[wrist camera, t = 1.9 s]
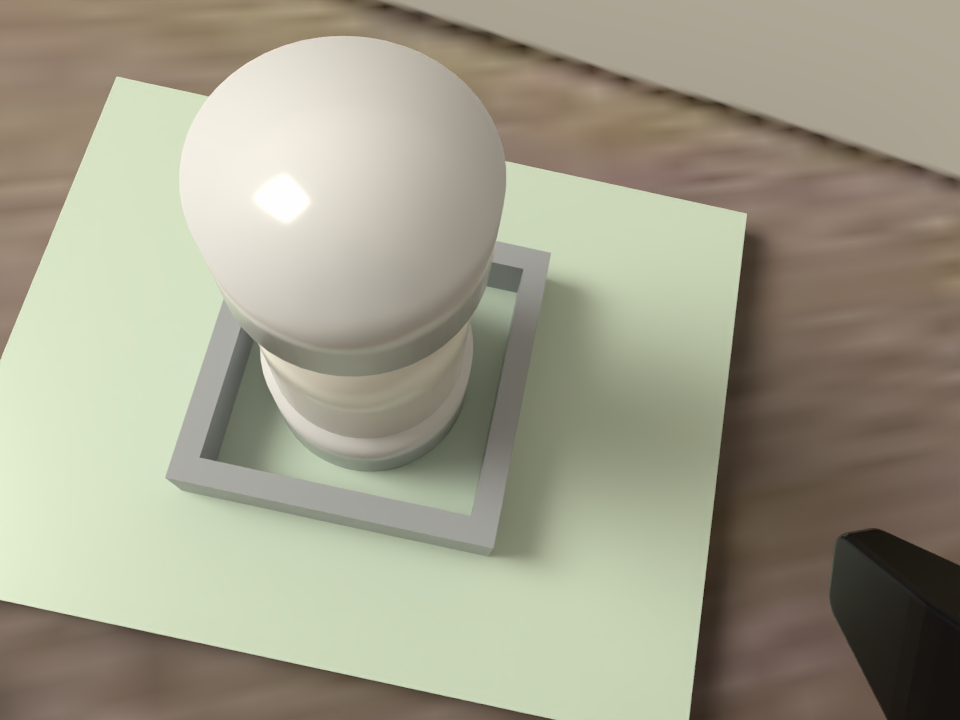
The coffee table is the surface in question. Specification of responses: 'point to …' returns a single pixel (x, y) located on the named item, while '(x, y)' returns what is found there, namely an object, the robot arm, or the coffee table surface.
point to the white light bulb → (350, 236)
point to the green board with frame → (388, 493)
